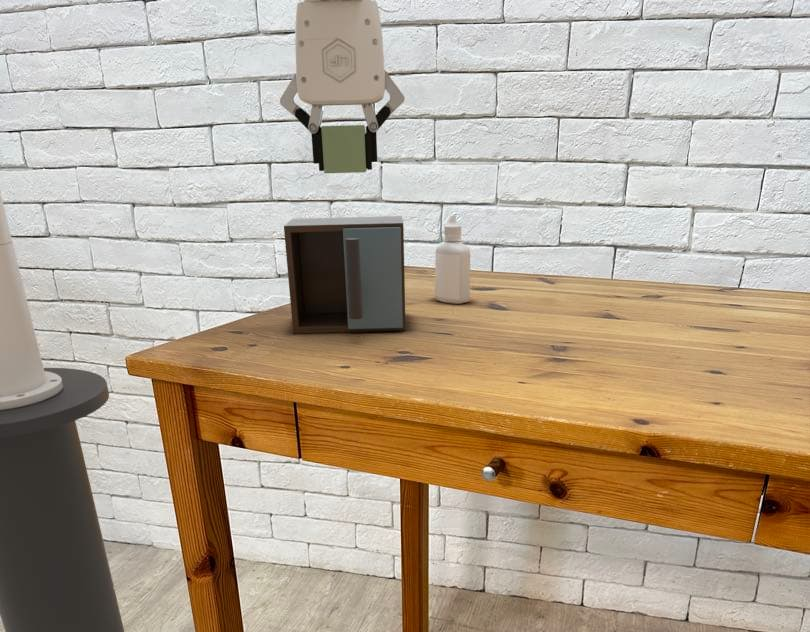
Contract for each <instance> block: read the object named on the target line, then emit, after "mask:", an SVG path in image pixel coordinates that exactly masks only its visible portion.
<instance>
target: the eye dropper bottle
mask: <svg viewBox="0 0 810 632" xmlns="http://www.w3.org/2000/svg"><path fill="white" fill-rule="evenodd" d="M449 216H450V217H449V222H448V223H447V224H446V225H444V242H441V243H440V244H438V245H437V246H436V248H435V255H434V256H435V258H434V266H435V267H434V270H435V271H434V280H435V281H434V287H435V288H434V289H435V291H434V295H435V300H436V301H439V302H441V303H444V304H446V303H447V304H452V305H453V304H454V305H455V304H456V305H461V304H466V303H468V302H470V297H471V296H470V295H471V250H470V248H469V247H468V246H467V245H466V244H464V243H463V242H461V241H462V225H460V224H458V221H457V217H456V215H454V214H453V215H449Z"/></svg>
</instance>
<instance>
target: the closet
mask: <svg viewBox="0 0 810 632" xmlns="http://www.w3.org/2000/svg"><path fill="white" fill-rule="evenodd" d="M378 227H400V228H401V269H402V315H403V328H378V329H348V315H347V297H346V279H345V260H344V242H343V228H378ZM404 227H405V225H404V219H403V216H402V215H394V216H393V215H390V216H389V215H388V216H386V215H385V216H350V217H348V216H347V217H345V216H343V217H308V218H307V217H306V218H304V217H303V218H291V219H290V220H289V221H288V222H286V224H284V225H283V233H284V234H283V235H284V243H285V257H286V265H287V266H286V267H287V279H288V289H289V291H288V292H289V300H290V301H289V302H290V313H291V324H292V334H326V333H327V334H328V333H329V334H330V333H366V332H369V333H370V332H405V331H406V329H407V327H406V285H405V284H406V281H405V276H406V275H405V236H404V235H405V230H404V229H405V228H404Z"/></svg>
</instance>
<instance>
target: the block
mask: <svg viewBox="0 0 810 632" xmlns="http://www.w3.org/2000/svg"><path fill="white" fill-rule="evenodd" d="M321 129H322V145H323V160H324V171H323V173H324V174H350V173H351V174H353V173H354V174H355V173H356V174H358V173H367V171H368V170H367V169H366V155H365V134H366V125H365V124H348V125H321Z"/></svg>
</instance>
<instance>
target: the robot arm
mask: <svg viewBox="0 0 810 632" xmlns="http://www.w3.org/2000/svg"><path fill="white" fill-rule="evenodd" d="M381 22H382V21H381V17H380V10H379V5H378V2H377V1H376V0H303V1H300V2H297V3H296V8H295V23H294V24H295V25H294V53H295V74H294V76H293V77H292V79H291V80H290V82H289V84H288V85H287V87H286V88H285V90H284V91H283V94H282V95H281V97H280V98H279V104H280V106H281V107H283V108H284V109H285V110H286V111H288V112H289V113H290V114H291V115H293V117H295V118H296V119H297V121H299V122H300V123H301V124H302V125H303V126H304V127H305V129H306V130H307V131H308V132H309V134H311V148H312V160H313V164H314V165H315V164H318V171H319V172H324V160H323V145H322V129H321V126H322V121H323V117H324V111H325V107H326V106H358V105H359V106H360V105H361V108H362V112H363V115H364V119H365V121H366V126H365V130H366V134H365V155H366V169H367V171H372V170H373V163H378V141H377V137H378V135H377V132H378V130H379V129H380V128H382V126H383V124H385V122H386V121H387V120H388V119H389V117H390V116H392V114H393V113H394V112H395V111H396V110H398V108H400V107H401V106H402V105H403V104H404V102H405V95H404V94H403V92H402V91H401V90H400V89H399V87H398V86H397V85H396V83H395V82H394V80H393V79H392V78H391V76H390V75H389V74H388V72H387V71H386V69H385V56H384V54H385V53H384V40H383V39H384V38H383V29H382V23H381ZM385 93H387V94H388V95H389V99H388V101H387V102H386V103H385V104H384V105H383V106H382V107H381V108H380V110H378V112H377V113H376V111H375V109H374V105H373V104H377V103H380V101H382V100H383V99H384V96H385ZM297 96H298V98H299V100H301V102H303V103H305V104H308V105H311V109H310V113H308V112H307V111H306V110H305V109H304V108H303V107H302V106H301V105H299V104H298V103H297V102H296V97H297ZM2 197H3V196H2V192H1V191H0V411H2V410H8V409H14V408H19V407H24V406H28V405H32V404H35V403H38V402H41V401H44V400H47V399H49V398H51V397H53V396H55V395H57V394H58V393H59V392H60V391H61V390H62V389H63V383H62V379H61V377H60V376H59V375H57V374H55V373H52V372H47V371H44V368H45V367H44V364H43V360H42V357H41V352H40V349H39V348H40V347H39V344H38V340H37V335H36V332H35V328H34V324H33V319H32V316H31V310H30V306H29V303H28V300H27V299H28V298H27V295H26V291H25V287H24V281H23V279H22V274H21V271H20V270H21V269H20V266H19V262H18V258H17V253H16V250H15V249H16V248H15V246H14V242H13V240H12V234H11V231H10V226H9V222H8V219H7V215H6V210H5V206H4V205H5V204H4V201H3V198H2Z"/></svg>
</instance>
